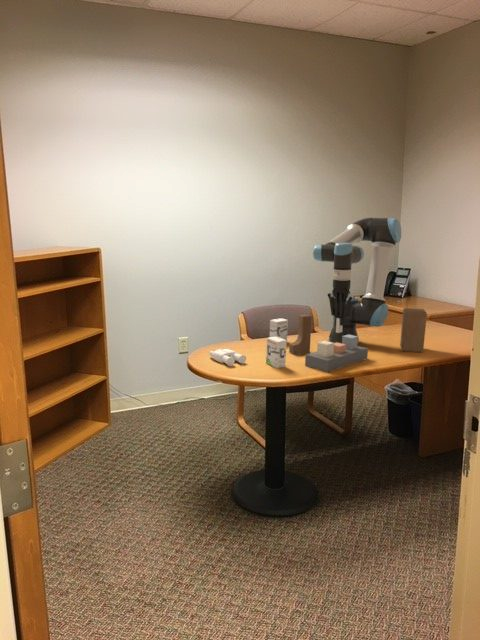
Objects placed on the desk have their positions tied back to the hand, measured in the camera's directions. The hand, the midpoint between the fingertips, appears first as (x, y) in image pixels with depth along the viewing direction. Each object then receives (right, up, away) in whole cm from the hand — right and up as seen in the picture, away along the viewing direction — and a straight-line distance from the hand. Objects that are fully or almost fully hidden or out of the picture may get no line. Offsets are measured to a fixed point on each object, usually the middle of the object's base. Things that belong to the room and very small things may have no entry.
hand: (339, 332), depth 225 cm
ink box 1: (-24, -6, +36) cm, 44 cm away
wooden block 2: (+41, -10, +26) cm, 49 cm away
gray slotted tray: (0, -14, +3) cm, 14 cm away
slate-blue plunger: (+6, -9, +8) cm, 13 cm away
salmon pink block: (0, -12, +2) cm, 13 cm away
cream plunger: (-7, -11, -4) cm, 14 cm away
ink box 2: (-28, -14, -3) cm, 32 cm away
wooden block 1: (-16, -10, +17) cm, 25 cm away
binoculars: (-50, -13, +3) cm, 52 cm away
